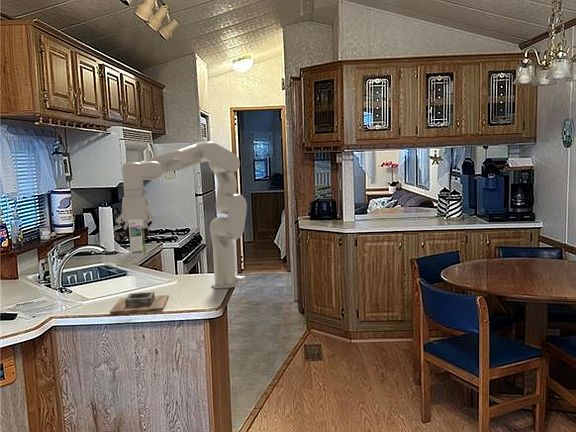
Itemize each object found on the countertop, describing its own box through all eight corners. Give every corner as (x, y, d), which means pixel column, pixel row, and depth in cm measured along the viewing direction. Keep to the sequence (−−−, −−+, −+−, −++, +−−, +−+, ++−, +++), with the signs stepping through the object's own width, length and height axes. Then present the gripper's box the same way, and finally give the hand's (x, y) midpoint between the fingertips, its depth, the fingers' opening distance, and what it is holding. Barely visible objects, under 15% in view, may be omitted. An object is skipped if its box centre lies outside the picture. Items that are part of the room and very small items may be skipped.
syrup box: (130, 256, 206) (128, 219, 205) (131, 253, 212) (128, 218, 210) (145, 254, 208) (143, 218, 206) (145, 252, 213) (143, 217, 212)
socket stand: (168, 297, 223) (168, 288, 223) (162, 310, 203) (162, 300, 203) (120, 301, 221) (119, 291, 220) (110, 314, 201) (109, 304, 201)
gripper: (157, 192, 212) (160, 235, 214) (113, 194, 210) (117, 238, 212) (155, 193, 205) (158, 238, 207) (109, 195, 203) (113, 241, 205)
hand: (137, 237), depth 209 cm, fingers closed on syrup box, 6 cm apart
